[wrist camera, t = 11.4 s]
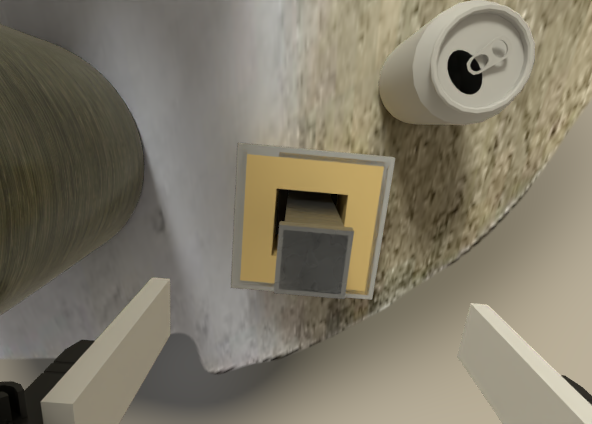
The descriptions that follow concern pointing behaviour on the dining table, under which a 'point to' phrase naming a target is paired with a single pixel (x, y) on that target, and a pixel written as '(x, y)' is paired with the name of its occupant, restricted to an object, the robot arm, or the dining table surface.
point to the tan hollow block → (315, 178)
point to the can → (459, 66)
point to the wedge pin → (312, 247)
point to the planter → (59, 163)
